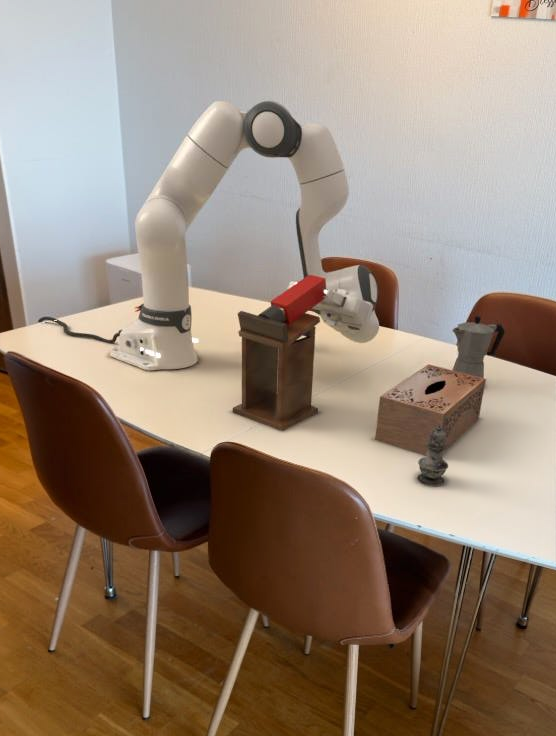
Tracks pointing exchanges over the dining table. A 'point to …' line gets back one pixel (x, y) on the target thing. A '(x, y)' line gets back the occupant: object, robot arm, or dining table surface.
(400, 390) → the tissue box cover
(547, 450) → the dining table surface
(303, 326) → the wooden lectern stand
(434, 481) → the dark stone figurine
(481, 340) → the coffeepot
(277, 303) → the tall red pillar
